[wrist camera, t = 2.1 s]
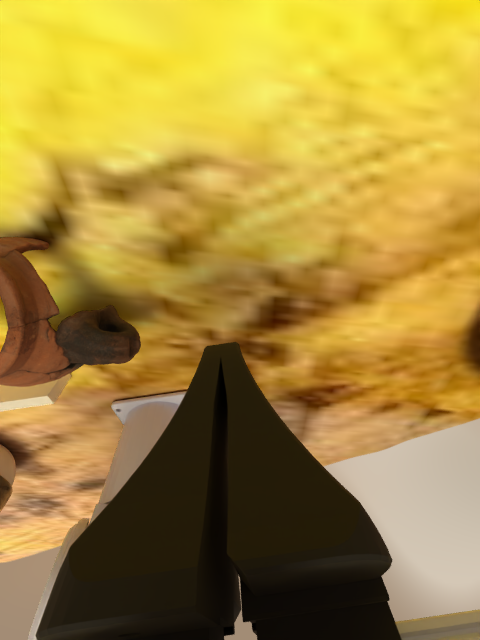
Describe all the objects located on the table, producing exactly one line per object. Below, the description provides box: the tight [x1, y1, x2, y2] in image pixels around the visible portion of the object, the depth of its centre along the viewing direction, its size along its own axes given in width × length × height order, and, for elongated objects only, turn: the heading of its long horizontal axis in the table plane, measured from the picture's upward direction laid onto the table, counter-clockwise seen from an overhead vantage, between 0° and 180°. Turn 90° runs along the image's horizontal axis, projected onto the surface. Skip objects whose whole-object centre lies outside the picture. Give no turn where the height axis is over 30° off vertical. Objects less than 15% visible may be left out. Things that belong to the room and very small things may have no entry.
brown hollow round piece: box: [0, 237, 141, 387], centre depth 16 cm, size 12×10×8 cm
